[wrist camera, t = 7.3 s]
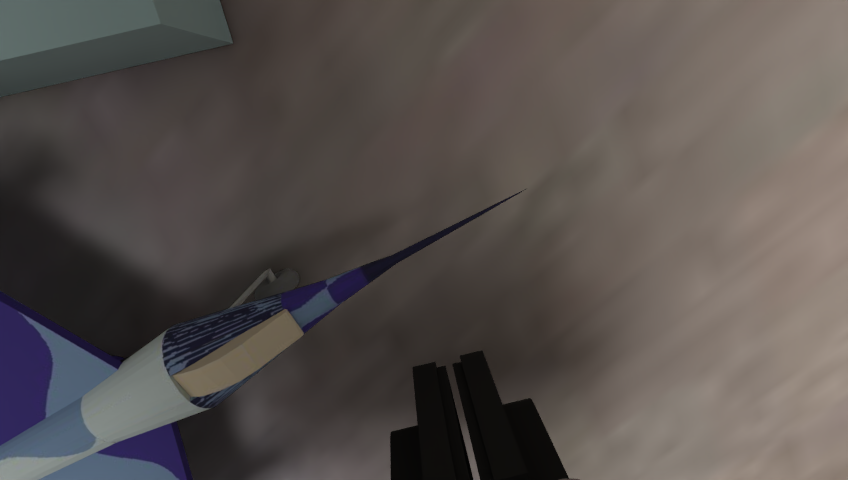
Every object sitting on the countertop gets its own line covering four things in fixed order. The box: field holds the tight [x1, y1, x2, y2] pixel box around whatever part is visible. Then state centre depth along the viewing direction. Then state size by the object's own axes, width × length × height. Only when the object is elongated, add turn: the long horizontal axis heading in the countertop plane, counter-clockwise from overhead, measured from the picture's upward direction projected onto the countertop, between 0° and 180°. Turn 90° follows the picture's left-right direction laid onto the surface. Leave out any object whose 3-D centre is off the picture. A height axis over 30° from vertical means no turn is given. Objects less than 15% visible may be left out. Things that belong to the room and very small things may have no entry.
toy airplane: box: [0, 189, 526, 480], centre depth 10 cm, size 13×14×4 cm
